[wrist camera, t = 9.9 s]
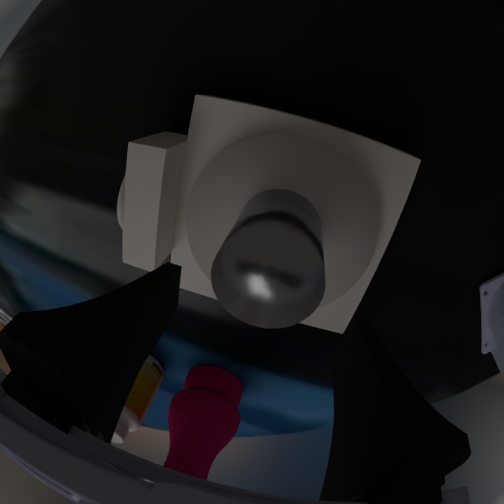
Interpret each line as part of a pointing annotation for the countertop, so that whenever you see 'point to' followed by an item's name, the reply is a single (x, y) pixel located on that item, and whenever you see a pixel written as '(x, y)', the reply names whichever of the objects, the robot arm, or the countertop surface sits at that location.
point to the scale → (254, 182)
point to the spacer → (272, 261)
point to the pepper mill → (202, 419)
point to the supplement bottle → (139, 399)
